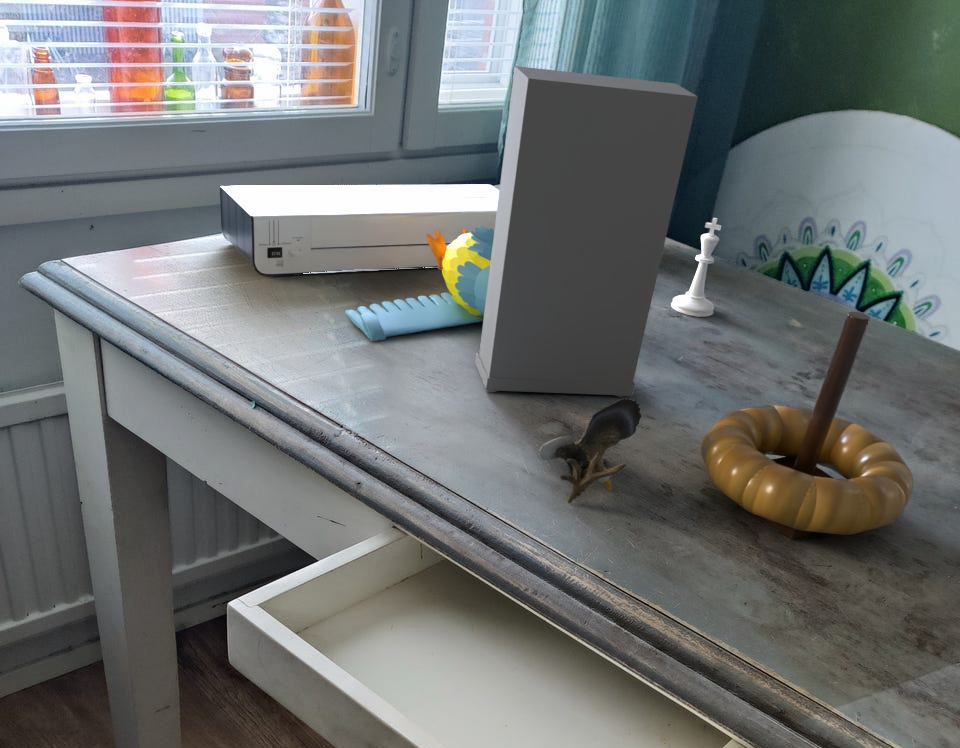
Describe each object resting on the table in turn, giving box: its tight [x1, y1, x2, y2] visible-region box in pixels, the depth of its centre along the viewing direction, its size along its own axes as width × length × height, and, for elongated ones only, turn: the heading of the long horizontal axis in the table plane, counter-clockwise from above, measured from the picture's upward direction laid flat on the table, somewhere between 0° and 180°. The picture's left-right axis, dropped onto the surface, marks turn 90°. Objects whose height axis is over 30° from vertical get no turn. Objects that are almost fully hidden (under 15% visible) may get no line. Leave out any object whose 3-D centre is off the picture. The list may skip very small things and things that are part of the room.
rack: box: [761, 311, 871, 540], centre depth 75 cm, size 9×9×15 cm
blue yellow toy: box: [345, 226, 494, 342], centre depth 100 cm, size 28×9×15 cm
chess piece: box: [670, 217, 722, 318], centre depth 110 cm, size 5×5×10 cm
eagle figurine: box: [538, 397, 643, 504], centre depth 76 cm, size 8×7×9 cm
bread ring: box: [700, 404, 915, 536], centre depth 77 cm, size 16×16×4 cm
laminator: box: [219, 183, 500, 277], centre depth 113 cm, size 34×12×6 cm, turn 118°
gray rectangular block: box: [474, 65, 699, 398], centre depth 85 cm, size 14×6×25 cm, turn 100°
